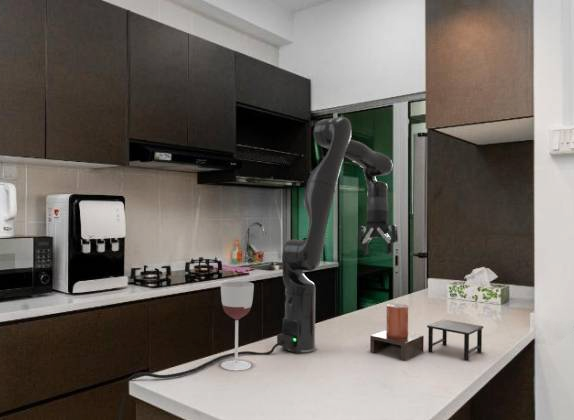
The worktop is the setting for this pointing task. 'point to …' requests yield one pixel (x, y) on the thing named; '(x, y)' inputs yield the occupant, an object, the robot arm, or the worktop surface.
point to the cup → (397, 321)
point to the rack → (456, 328)
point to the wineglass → (236, 313)
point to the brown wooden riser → (398, 344)
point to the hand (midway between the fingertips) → (377, 254)
